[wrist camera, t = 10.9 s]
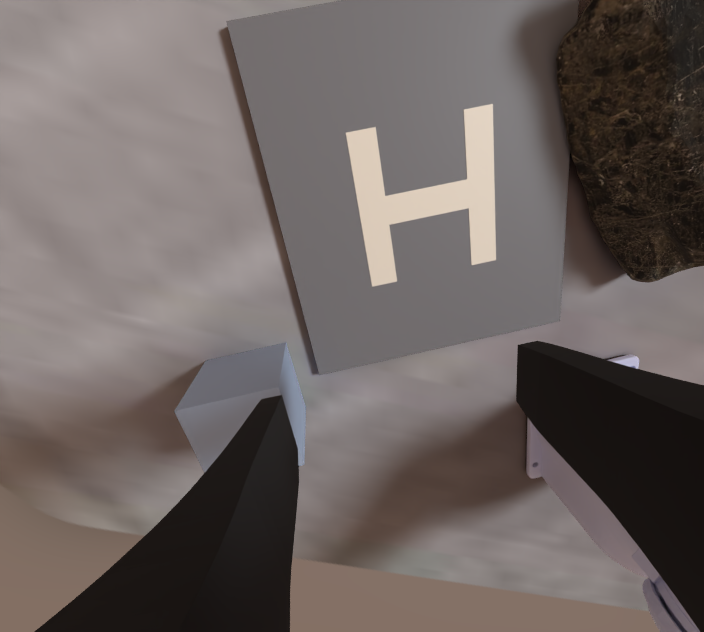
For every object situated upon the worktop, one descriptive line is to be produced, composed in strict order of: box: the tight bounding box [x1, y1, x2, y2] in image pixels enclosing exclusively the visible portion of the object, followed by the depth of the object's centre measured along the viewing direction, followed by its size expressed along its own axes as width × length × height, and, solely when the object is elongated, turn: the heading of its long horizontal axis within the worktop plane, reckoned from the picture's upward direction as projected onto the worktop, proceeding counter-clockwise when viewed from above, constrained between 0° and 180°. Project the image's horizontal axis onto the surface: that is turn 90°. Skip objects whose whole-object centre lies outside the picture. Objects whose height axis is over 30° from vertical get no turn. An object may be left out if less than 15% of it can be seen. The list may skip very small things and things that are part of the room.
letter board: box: [226, 0, 579, 375], centre depth 18 cm, size 18×16×1 cm
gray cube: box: [174, 343, 306, 473], centre depth 19 cm, size 5×5×5 cm
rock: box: [556, 0, 704, 282], centre depth 16 cm, size 8×16×4 cm, turn 34°
